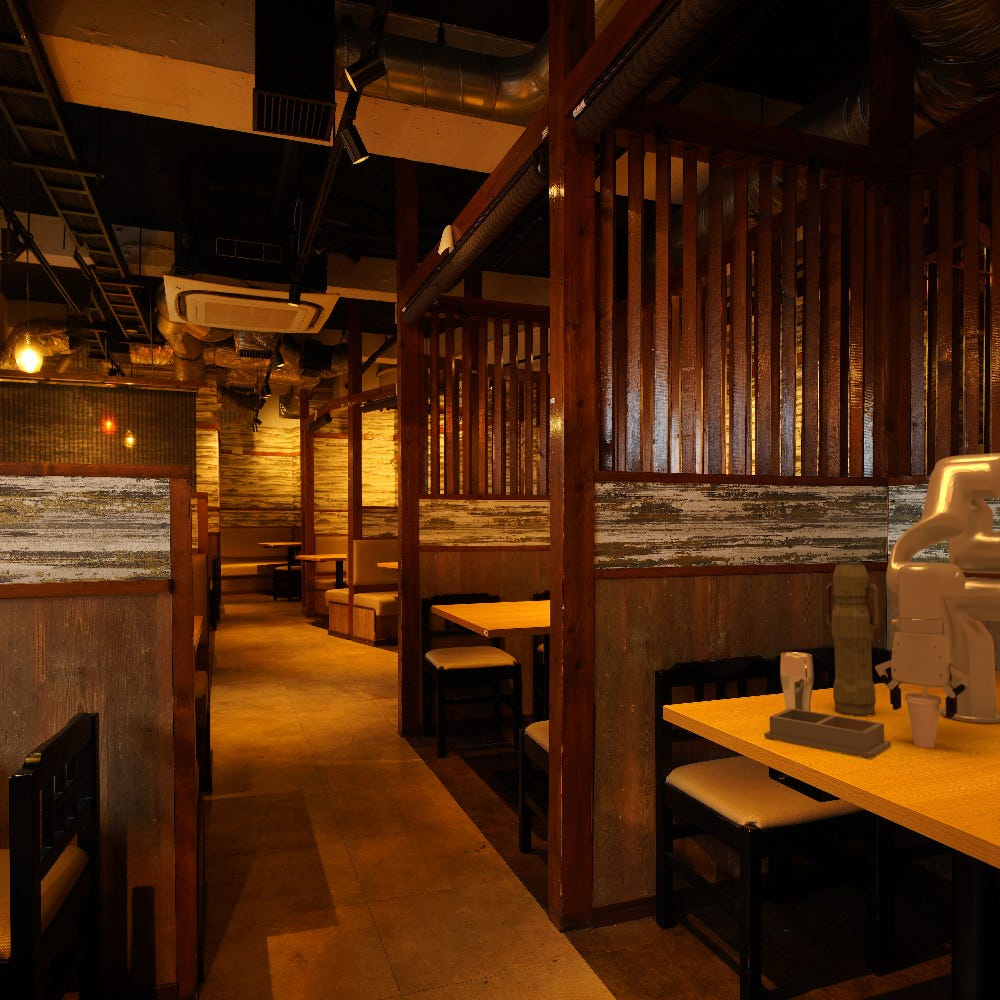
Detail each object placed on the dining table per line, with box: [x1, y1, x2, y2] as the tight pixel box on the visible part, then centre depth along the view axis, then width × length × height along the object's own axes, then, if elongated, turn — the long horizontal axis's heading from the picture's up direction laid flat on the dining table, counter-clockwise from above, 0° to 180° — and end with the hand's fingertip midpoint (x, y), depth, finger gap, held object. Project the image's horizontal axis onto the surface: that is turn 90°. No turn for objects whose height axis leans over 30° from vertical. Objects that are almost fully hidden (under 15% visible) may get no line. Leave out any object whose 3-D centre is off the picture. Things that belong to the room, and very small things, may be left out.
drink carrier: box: [763, 708, 892, 760], centre depth 152 cm, size 11×21×4 cm, turn 45°
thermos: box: [823, 562, 880, 717], centre depth 177 cm, size 9×12×35 cm
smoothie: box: [904, 686, 942, 749], centre depth 150 cm, size 6×6×14 cm
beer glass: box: [779, 651, 815, 711], centre depth 169 cm, size 7×7×15 cm
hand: (923, 712), depth 150 cm, fingers open, 9 cm apart
